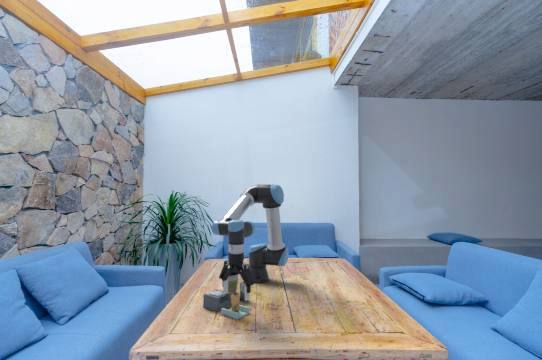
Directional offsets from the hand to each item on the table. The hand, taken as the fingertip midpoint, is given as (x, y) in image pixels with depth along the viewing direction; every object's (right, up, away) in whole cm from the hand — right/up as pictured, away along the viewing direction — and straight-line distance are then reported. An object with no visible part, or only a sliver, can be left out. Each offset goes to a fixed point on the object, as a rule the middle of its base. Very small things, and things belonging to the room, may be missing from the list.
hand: (236, 296), depth 151 cm
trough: (0, -8, -1) cm, 8 cm away
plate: (-11, -3, +9) cm, 14 cm away
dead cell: (+2, -9, +18) cm, 20 cm away
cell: (0, -8, -1) cm, 8 cm away
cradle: (-11, -8, +9) cm, 16 cm away
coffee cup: (-6, -9, +23) cm, 25 cm away
